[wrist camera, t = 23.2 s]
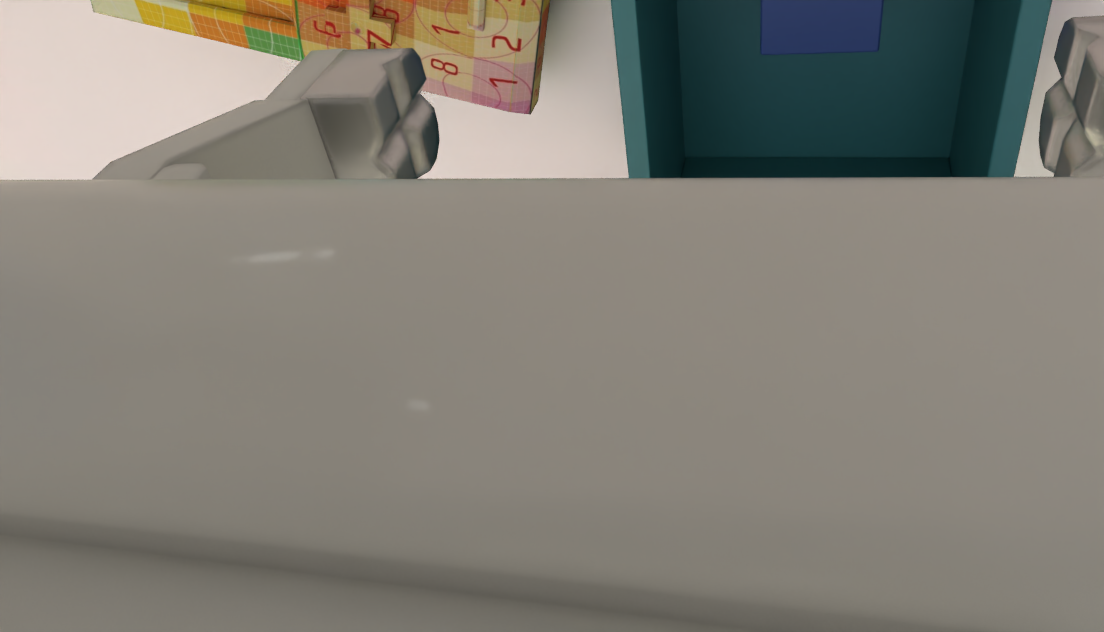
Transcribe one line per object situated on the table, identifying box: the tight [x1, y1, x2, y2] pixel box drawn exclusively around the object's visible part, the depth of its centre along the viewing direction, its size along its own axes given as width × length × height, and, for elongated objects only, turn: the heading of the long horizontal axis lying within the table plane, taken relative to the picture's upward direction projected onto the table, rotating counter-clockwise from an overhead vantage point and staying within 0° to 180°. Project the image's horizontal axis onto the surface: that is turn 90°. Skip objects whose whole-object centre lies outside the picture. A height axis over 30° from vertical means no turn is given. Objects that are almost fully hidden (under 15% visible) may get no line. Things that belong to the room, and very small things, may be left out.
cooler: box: [611, 0, 1052, 178], centre depth 32 cm, size 16×13×9 cm
